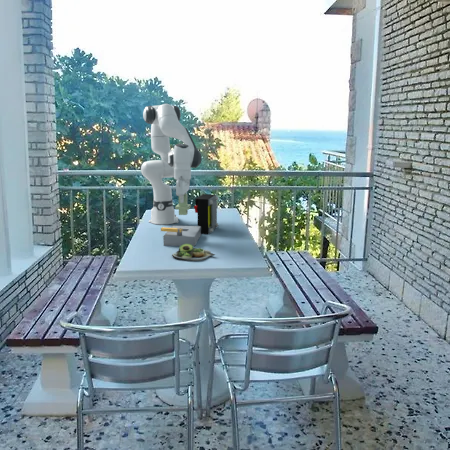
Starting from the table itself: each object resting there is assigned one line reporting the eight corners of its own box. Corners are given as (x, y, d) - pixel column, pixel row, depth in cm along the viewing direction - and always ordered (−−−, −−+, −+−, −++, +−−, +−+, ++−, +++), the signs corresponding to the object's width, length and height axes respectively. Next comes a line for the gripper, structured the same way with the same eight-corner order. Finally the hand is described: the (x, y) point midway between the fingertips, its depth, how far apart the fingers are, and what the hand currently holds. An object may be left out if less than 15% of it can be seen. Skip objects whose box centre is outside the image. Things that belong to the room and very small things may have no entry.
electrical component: (212, 234, 259) (211, 199, 255) (194, 233, 261) (194, 198, 257) (218, 227, 276) (218, 194, 271) (202, 227, 278) (201, 194, 273)
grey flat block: (172, 234, 259) (172, 225, 258) (201, 235, 258) (200, 226, 257) (163, 245, 236) (163, 235, 235) (194, 246, 234) (194, 236, 233)
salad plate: (221, 253, 222) (221, 244, 221) (206, 264, 206) (206, 254, 205) (185, 249, 229) (185, 240, 228) (168, 259, 213) (167, 249, 212)
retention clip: (160, 234, 237) (160, 228, 236) (162, 233, 240) (162, 227, 239) (181, 235, 234) (180, 229, 234) (182, 234, 237) (182, 228, 236)
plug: (178, 212, 250) (177, 193, 247) (190, 213, 249) (190, 193, 247) (175, 215, 243) (175, 195, 240) (188, 215, 242) (188, 195, 240)
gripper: (185, 178, 231) (185, 205, 234) (191, 173, 251) (191, 198, 254) (172, 177, 231) (173, 205, 235) (180, 173, 251) (180, 198, 254)
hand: (183, 201), depth 244 cm, fingers closed on plug, 4 cm apart
